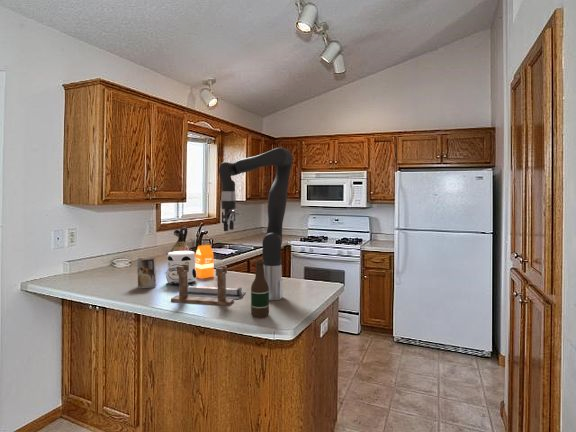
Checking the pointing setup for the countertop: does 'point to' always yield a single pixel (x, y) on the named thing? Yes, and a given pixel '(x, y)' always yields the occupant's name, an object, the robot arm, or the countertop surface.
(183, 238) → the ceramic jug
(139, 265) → the coffee box
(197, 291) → the steel rail
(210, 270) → the orange juice
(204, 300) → the walnut rack
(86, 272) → the countertop surface
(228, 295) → the grey long flat board
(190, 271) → the milk container
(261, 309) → the beer bottle
